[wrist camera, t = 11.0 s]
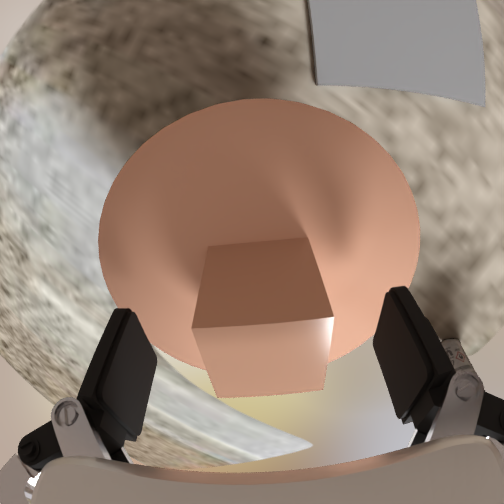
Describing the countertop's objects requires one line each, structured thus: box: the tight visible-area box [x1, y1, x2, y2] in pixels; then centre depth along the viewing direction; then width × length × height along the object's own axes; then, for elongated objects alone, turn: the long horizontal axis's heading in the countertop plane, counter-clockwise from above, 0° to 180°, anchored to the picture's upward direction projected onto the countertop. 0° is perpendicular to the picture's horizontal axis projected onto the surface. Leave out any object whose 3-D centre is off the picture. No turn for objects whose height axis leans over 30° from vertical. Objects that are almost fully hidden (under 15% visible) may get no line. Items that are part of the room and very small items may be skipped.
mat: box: [307, 0, 485, 107], centre depth 13 cm, size 16×16×1 cm
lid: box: [98, 98, 420, 398], centre depth 11 cm, size 15×15×6 cm
